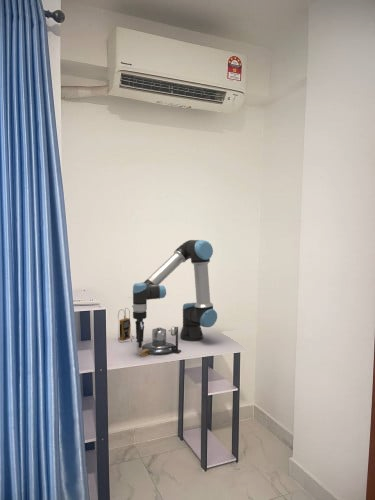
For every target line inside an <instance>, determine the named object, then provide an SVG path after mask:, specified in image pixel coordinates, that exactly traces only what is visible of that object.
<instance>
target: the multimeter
mask: <svg viewBox="0 0 375 500" xmlns="http://www.w3.org/2000/svg"><path fill="white" fill-rule="evenodd" d="M126 309H127V310H128V311H129V312H128V313H129V315H128V316H129V317H127V315H126V314H127V313H126ZM120 311H123V318H122V319H119V334H117V337H118V339H117V340H118V342H119V343H121V341H123V343H128V342H133V340H132V339H136V337H135V336H132V335H131V334H132V331H131V328H132V325H131V318H130V317H131V315H130V313H131V312H130V311H131V310H129V308H128V307H125V309H120V310H118V315H117V317H119V314H120ZM131 337H132V338H131ZM128 339H130V340H128ZM125 340H126V341H125ZM127 340H128V341H127Z"/></svg>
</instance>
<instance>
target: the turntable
mask: <svg viewBox="0 0 375 500" xmlns="http://www.w3.org/2000/svg"><path fill="white" fill-rule="evenodd" d="M151 343H152V341H151V342H147V343H144V344H142V351H141V353H140V356H141V357H146V356H148V355H150V354H155V355H159V354H161V355H163V354H169V353H172V351H174V350H175V349H176V344H174V343H171V342H167V341H166V343H167V344H168V345H169V347H168V348H167V349H162V350H155V349H151V348H150V344H151Z"/></svg>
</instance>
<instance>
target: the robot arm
mask: <svg viewBox="0 0 375 500" xmlns="http://www.w3.org/2000/svg"><path fill="white" fill-rule="evenodd" d="M213 254H214V249H213V245H212V244H211V243H210V242H209V241H207V240H204V239H196V240H195V239H190V240H187V241H184V242H183V243H181V245H179V246H178V247H177V248H176V249H175V250H174V251H173V254H172V255H171V256H170V257H169V258H168V259H167V260H165V262H163V263H162V264H161V265H160V266H159V267H158V268H157V269H156V270H155V271H154V272H152V274H151V275H150V276H149V277H147V279H145V280H144V281H143V282H137V283H134V284H133V285H132V306H131V307H132V311H133V312H132V319H134V320H135V322H134V323H135V335H136V337H135V339H136V354H141V351H142V345H143V342H144V331H145V326H144V325H145V322H144V320H145V319H146V318H147V316H148V315H147V311H148V310H147V305H148V304H147V301H149V300H157V299H158V300H160V299H164V298H165V297H166V295H167V289H166V287H165V286H164V285H160V284H161V283H163V281H165V279H166V278H168V277H169V275H170V274H171V273H173V272H174V271H175V270H176V269H177V268H178V267H179V266H180V265H181V264H182V263H186V261H188V260H189V259H190V262H191V263H190V264H192V265H193V271H194V283H195V284H194V287H195V299H196V302H186V303H184V304H183V305H182V327H181V330H180V333H179V338H180V339H181V340H182V341H187V342H189V341H190V342H194V341H201V340H203V339H204V334H203V330H202V327H203V328H211V327H213V326H214V325H215V323H216V322H217V321H218V313H217V311H216V310H215V309H214V304H213V303H212V302H211V294H210V293H211V292H210V282H209V281H210V280H209V278H210V276H209V263H210V262H211V258H212V256H213Z"/></svg>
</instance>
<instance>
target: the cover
mask: <svg viewBox="0 0 375 500" xmlns="http://www.w3.org/2000/svg"><path fill="white" fill-rule="evenodd" d="M151 335H152V338H151V340H152V341H151V342H152V343H151V342H150V343H151V344H150V348H151V349H155V350H162V349H167V348H168V347H169V345H168V344H167V343H166V342H167V329H165V328H164V327H163V328H162V327H157V328H156V327H155V328H152V330H151Z"/></svg>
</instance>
